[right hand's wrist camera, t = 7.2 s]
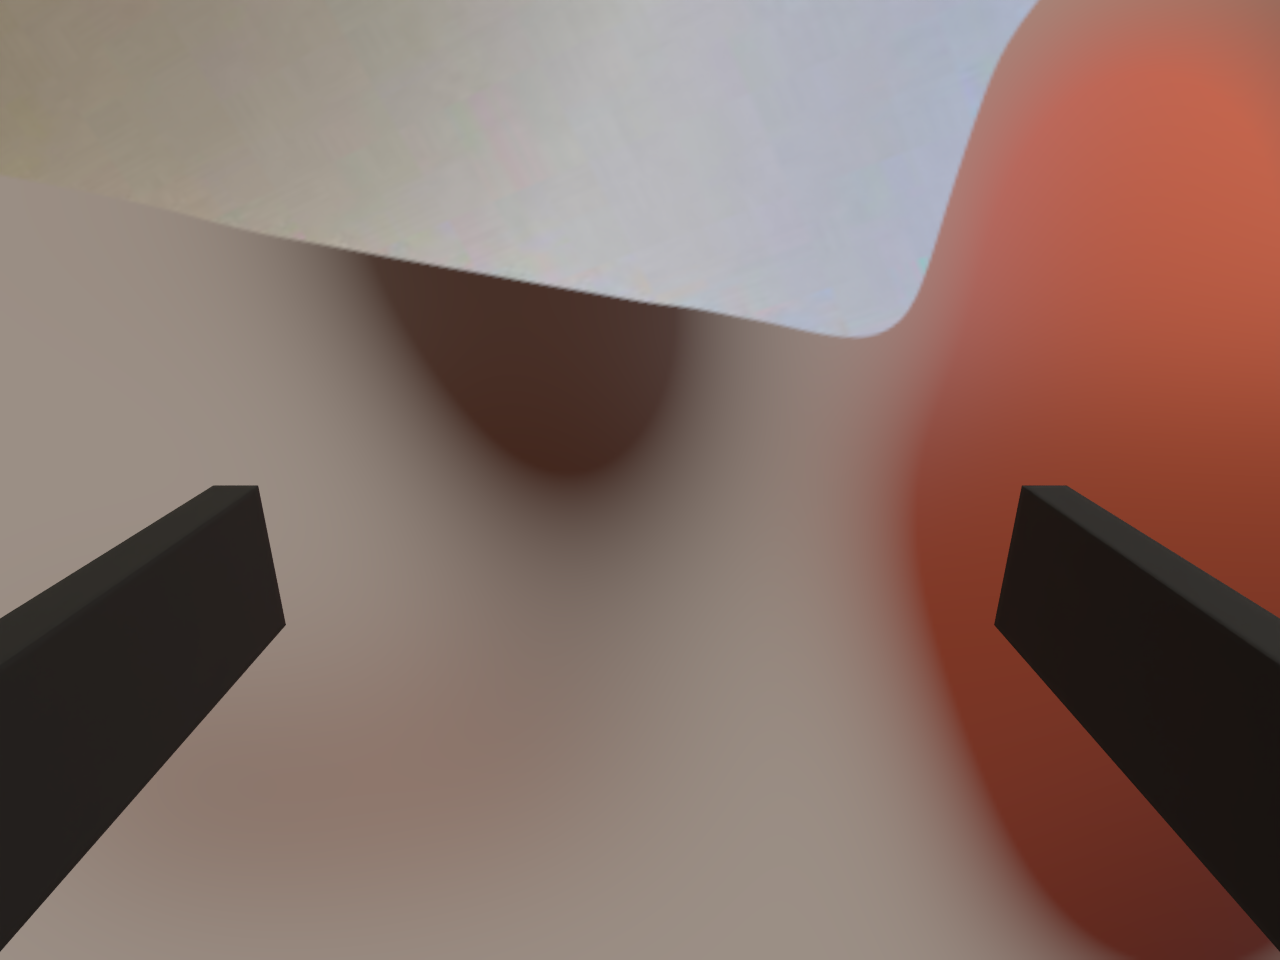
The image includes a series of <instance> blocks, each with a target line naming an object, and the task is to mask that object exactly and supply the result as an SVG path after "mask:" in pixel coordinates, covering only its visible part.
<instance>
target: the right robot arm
mask: <svg viewBox="0 0 1280 960" xmlns="http://www.w3.org/2000/svg"><path fill="white" fill-rule="evenodd" d="M285 625H286V624H285V619H284V614H283V609H282V604H281V599H280V594H279V589H278V583H277V579H276V574H275V568H274V563H273V558H272V553H271V548H270V543H269V538H268V533H267V528H266V523H265V518H264V513H263V508H262V503H261V498H260V493H259V488H258V486H212V487H210V488H209V489H207V490H206V491H204V492H202V493H201V494H199V495H198V496H196V497H194V498H193V499H191V500H190V501H188V502H186V503H185V504H183V505H182V506H180V507H178V508H177V509H175V510H174V511H172V512H170V513H169V514H167V515H166V516H164V517H162V518H161V519H159V520H157V521H156V522H154V523H153V524H151V525H150V526H148V527H146V528H145V529H143V530H141V531H140V532H138V533H137V534H135V535H133V536H132V537H130V538H129V539H127V540H125V541H124V542H122V543H121V544H119V545H118V546H116V547H114V548H113V549H111V550H109V551H108V552H106V553H105V554H103V555H101V556H100V557H98V558H97V559H95V560H93V561H92V562H90V563H89V564H87V565H85V566H84V567H82V568H81V569H79V570H77V571H76V572H74V573H72V574H71V575H69V576H68V577H66V578H65V579H63V580H61V581H60V582H58V583H56V584H55V585H53V586H52V587H50V588H49V589H47V590H45V591H44V592H42V593H40V594H39V595H37V596H36V597H34V598H33V599H31V600H29V601H28V602H26V603H24V604H23V605H21V606H20V607H18V608H16V609H15V610H13V611H12V612H10V613H8V614H7V615H5V616H4V617H2V618H0V951H1V950H2V949H3V948H4V947H5V945H6V944H7V943H8V942H9V941H10V940H11V939H12V937H13V936H14V935H15V934H16V933H17V932H18V931H19V929H20V928H21V927H22V926H23V925H24V924H25V923H26V921H27V920H28V919H29V918H30V917H31V916H32V915H33V913H34V912H35V911H36V910H37V909H38V908H39V907H40V905H41V904H42V903H43V902H44V901H45V900H46V899H47V897H48V896H49V895H50V894H51V893H52V892H53V891H54V889H55V888H56V887H57V886H58V885H59V884H60V883H61V881H62V880H63V879H64V878H65V877H66V876H67V875H68V873H69V872H70V871H71V870H72V869H73V868H74V866H75V865H76V864H77V863H78V862H79V861H80V860H81V858H82V857H83V856H84V855H85V854H86V853H87V852H88V851H89V849H90V848H91V847H92V846H93V845H94V844H95V843H96V841H97V840H98V839H99V838H100V837H101V836H102V834H103V833H104V832H105V831H106V830H107V829H108V828H109V826H110V825H111V824H112V823H113V822H114V821H115V820H116V818H117V817H118V816H119V815H120V814H121V813H122V812H123V810H124V809H125V808H126V807H127V806H128V805H129V804H130V802H131V801H132V800H133V799H134V798H135V797H136V796H137V794H138V793H139V792H140V791H141V790H142V789H143V788H144V786H145V785H146V784H147V783H148V782H149V781H150V780H151V778H152V777H153V776H154V775H155V774H156V773H157V772H158V770H159V769H160V768H161V767H162V766H163V765H164V764H165V762H166V761H167V760H168V759H169V758H170V757H171V756H172V754H173V753H174V752H175V751H176V750H177V749H178V748H179V746H180V745H181V744H182V743H183V742H184V741H185V739H186V738H187V737H188V736H189V735H190V734H191V733H192V732H193V730H194V729H195V728H196V727H197V726H198V725H199V723H200V722H201V721H202V720H203V719H204V718H205V717H206V716H207V714H208V713H209V712H210V711H211V710H212V709H213V708H214V706H215V705H216V704H217V703H218V702H219V701H220V699H221V698H222V697H223V696H224V695H225V694H226V693H227V692H228V690H229V689H230V688H231V687H232V686H233V685H234V683H235V682H236V681H237V680H238V679H239V678H240V677H241V675H242V674H243V673H244V672H245V671H246V670H247V669H248V667H249V666H250V665H251V664H252V663H253V662H254V661H255V659H256V658H257V657H258V656H259V655H260V654H261V653H262V651H263V650H264V649H265V648H266V647H267V646H268V645H269V643H270V642H271V641H272V640H273V639H274V638H275V637H276V635H277V634H278V633H279V632H280V631H281V630H282V629H283V627H284V626H285ZM994 625H995V626H996V627H997V629H998V630H999V631H1000V632H1001V633H1002V634H1003V635H1004V637H1005V638H1006V639H1007V640H1008V641H1009V642H1010V643H1011V645H1012V646H1013V647H1014V648H1015V649H1016V650H1017V651H1018V653H1019V654H1020V655H1021V656H1022V657H1023V658H1024V659H1025V661H1026V662H1027V663H1028V664H1029V665H1030V666H1031V667H1032V669H1033V670H1034V671H1035V672H1036V673H1037V674H1038V675H1039V677H1040V678H1041V679H1042V680H1043V681H1044V682H1045V683H1046V685H1047V686H1048V687H1049V688H1050V689H1051V690H1052V692H1053V693H1054V694H1055V695H1056V696H1057V697H1058V698H1059V699H1060V701H1061V702H1062V703H1063V704H1064V705H1065V706H1066V707H1067V709H1068V710H1069V711H1070V712H1071V713H1072V714H1073V716H1074V717H1075V718H1076V719H1077V720H1078V721H1079V722H1080V723H1081V725H1082V726H1083V727H1084V728H1085V729H1086V730H1087V732H1088V733H1089V734H1090V735H1091V736H1092V737H1093V738H1094V740H1095V741H1096V742H1097V743H1098V744H1099V745H1100V746H1101V748H1102V749H1103V750H1104V751H1105V752H1106V753H1107V754H1108V756H1109V757H1110V758H1111V759H1112V760H1113V761H1114V762H1115V764H1116V765H1117V766H1118V767H1119V768H1120V769H1121V770H1122V772H1123V773H1124V774H1125V775H1126V776H1127V777H1128V778H1129V780H1130V781H1131V782H1132V783H1133V784H1134V785H1135V786H1136V788H1137V789H1138V790H1139V791H1140V792H1141V793H1142V794H1143V796H1144V797H1145V798H1146V799H1147V800H1148V801H1149V802H1150V804H1151V805H1152V806H1153V807H1154V808H1155V809H1156V810H1157V812H1158V813H1159V814H1160V815H1161V816H1162V817H1163V818H1164V820H1165V821H1166V822H1167V823H1168V824H1169V825H1170V826H1171V828H1172V829H1173V830H1174V831H1175V832H1176V833H1177V835H1178V836H1179V837H1180V838H1181V839H1182V840H1183V841H1184V842H1185V844H1186V845H1187V846H1188V847H1189V848H1190V849H1191V851H1192V852H1193V853H1194V854H1195V855H1196V856H1197V857H1198V858H1199V860H1200V861H1201V862H1202V863H1203V864H1204V865H1205V867H1206V868H1207V869H1208V870H1209V871H1210V872H1211V873H1212V875H1213V876H1214V877H1215V878H1216V879H1217V880H1218V881H1219V883H1220V884H1221V885H1222V886H1223V887H1224V888H1225V889H1226V891H1227V892H1228V893H1229V894H1230V895H1231V896H1232V897H1233V899H1234V900H1235V901H1236V902H1237V903H1238V904H1239V905H1240V907H1241V908H1242V909H1243V910H1244V911H1245V912H1246V913H1247V915H1248V916H1249V917H1250V918H1251V919H1252V920H1253V921H1254V923H1255V924H1256V925H1257V926H1258V927H1259V928H1260V929H1261V931H1262V932H1263V933H1264V934H1265V935H1266V936H1267V937H1268V939H1269V940H1270V941H1271V942H1272V943H1273V944H1274V945H1275V947H1276V948H1277V949H1278V950H1279V951H1280V618H1278V617H1276V616H1275V615H1273V614H1272V613H1270V612H1268V611H1267V610H1265V609H1264V608H1262V607H1260V606H1259V605H1257V604H1256V603H1254V602H1252V601H1251V600H1249V599H1248V598H1246V597H1244V596H1243V595H1241V594H1240V593H1238V592H1236V591H1235V590H1233V589H1232V588H1230V587H1228V586H1227V585H1225V584H1224V583H1222V582H1220V581H1219V580H1217V579H1215V578H1214V577H1212V576H1211V575H1209V574H1208V573H1206V572H1204V571H1203V570H1201V569H1199V568H1198V567H1196V566H1195V565H1193V564H1191V563H1190V562H1188V561H1187V560H1185V559H1183V558H1182V557H1180V556H1179V555H1177V554H1175V553H1174V552H1172V551H1171V550H1169V549H1167V548H1166V547H1164V546H1162V545H1161V544H1159V543H1158V542H1156V541H1155V540H1153V539H1151V538H1150V537H1148V536H1147V535H1145V534H1143V533H1142V532H1140V531H1139V530H1137V529H1135V528H1134V527H1132V526H1131V525H1129V524H1127V523H1126V522H1124V521H1123V520H1121V519H1119V518H1118V517H1116V516H1114V515H1113V514H1111V513H1110V512H1108V511H1106V510H1105V509H1103V508H1102V507H1100V506H1098V505H1097V504H1095V503H1094V502H1092V501H1090V500H1089V499H1087V498H1086V497H1084V496H1082V495H1081V494H1079V493H1078V492H1076V491H1074V490H1073V489H1071V488H1070V487H1068V486H1022V488H1021V493H1020V498H1019V503H1018V508H1017V513H1016V518H1015V523H1014V528H1013V533H1012V538H1011V543H1010V548H1009V553H1008V558H1007V563H1006V568H1005V573H1004V578H1003V583H1002V588H1001V594H1000V599H999V604H998V609H997V614H996V619H995V624H994Z"/></svg>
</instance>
